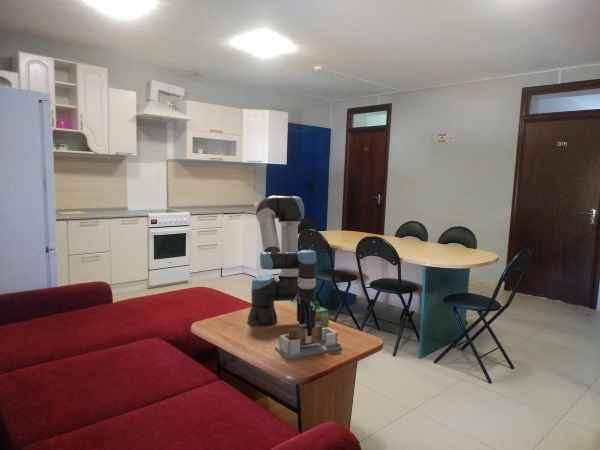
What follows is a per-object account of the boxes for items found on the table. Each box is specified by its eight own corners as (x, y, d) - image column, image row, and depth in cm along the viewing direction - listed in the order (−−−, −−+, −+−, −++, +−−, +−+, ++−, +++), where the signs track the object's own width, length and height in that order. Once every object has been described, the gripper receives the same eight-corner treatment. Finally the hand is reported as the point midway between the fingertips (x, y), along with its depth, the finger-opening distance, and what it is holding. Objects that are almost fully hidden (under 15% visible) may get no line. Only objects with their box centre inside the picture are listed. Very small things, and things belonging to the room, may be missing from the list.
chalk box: (313, 337, 186) (314, 306, 185) (302, 331, 193) (302, 301, 192) (329, 333, 191) (330, 303, 190) (317, 327, 199) (318, 298, 197)
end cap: (316, 340, 179) (317, 328, 178) (327, 338, 181) (327, 327, 181) (326, 347, 172) (326, 334, 171) (337, 344, 174) (337, 332, 174)
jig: (275, 348, 171) (275, 334, 171) (326, 339, 184) (327, 325, 183) (287, 359, 161) (288, 344, 160) (341, 348, 173) (342, 334, 173)
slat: (293, 347, 166) (293, 331, 165) (288, 344, 169) (288, 328, 169) (321, 342, 173) (322, 326, 172) (317, 339, 176) (317, 323, 176)
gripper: (289, 283, 175) (288, 335, 177) (308, 292, 160) (307, 349, 162) (304, 281, 178) (303, 333, 180) (324, 290, 163) (323, 346, 165)
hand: (305, 340), depth 171 cm, fingers closed on slat, 4 cm apart
